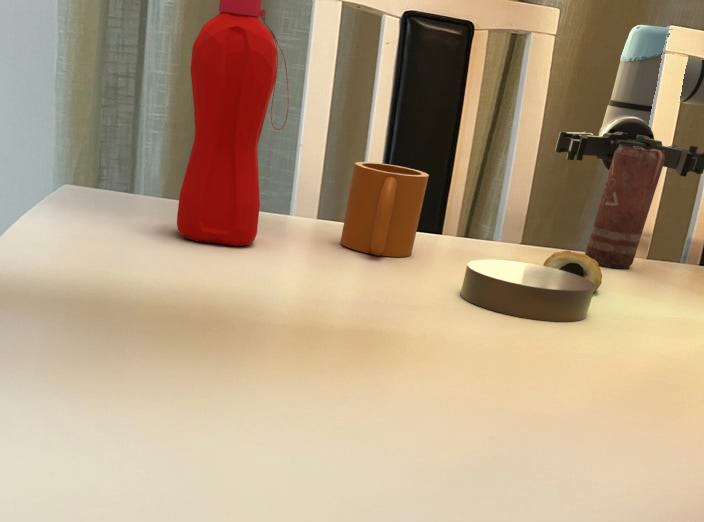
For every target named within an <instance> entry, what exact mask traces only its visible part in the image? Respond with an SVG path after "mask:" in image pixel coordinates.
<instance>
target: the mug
mask: <svg viewBox="0 0 704 522" xmlns="http://www.w3.org/2000/svg"><path fill="white" fill-rule="evenodd" d="M429 177H430V175H429V174H428V173H427V172H424V171H421V170H418V169H414V168H409V167H405V166H400V165H396V164H395V165H394V164H388V163H380V162H371V161H357V162H355V163H354V165H353V170H352V176H351V182H350V188H349V194H348V199H347V204H346V210H345V214H344V215H345V216H344V220H343V225H342V230H341V231H342V232H341V238H340V244H341V245H342V246H344V247H346V248H348V249H351V250H355V251H356V252H361V253H365V254H371V255H374V256H376V257H377V256H378V257H379V256H384V257H394V258H404V257H405V258H406V257H410V256H412V254H413V249H414V244H415V240H416V235H417V230H418V227H419V222H420V217H421V213H422V208H423V203H424V199H425V193H426V190H427V185H428V180H429Z"/></svg>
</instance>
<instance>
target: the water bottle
mask: <svg viewBox="0 0 704 522" xmlns="http://www.w3.org/2000/svg"><path fill="white" fill-rule="evenodd" d="M262 1H263V0H219V4H218V12H219V13H218V14H217V15H215V16H213V17H212V18H210V19H209V20H207V21H206V22H205V23H204V25H203V26H202V27H201V29H200V31H199V32H198V34H197V36H196V37H195V39H194V42H193V45H192V47H191V58H190V79H191V90H192V100H193V112H194V113H193V115H194V117H193V118H194V137H193V139H194V140H193V143H192V147H191V151H190V154H189V159H188V162H187V166H186V169H185V173H184V177H183V181H182V183H181V187H180V192H179V198H178V207H177V215H176V229H177V231H178V233H179V234H181V236H182V237H183V238H184V239H187V240H191V241H194V242H202V243H210V244H216V245H217V244H218V245H225V246H236V247H242V246H248V245H250V244H251V243H252V242H254V241H255V240H256V237H257V235H258V226H259V217H260V216H259V215H260V206H261V200H260V199H261V198H260V197H261V195H260V177H259V154H258V145H259V141H260V137H261V133H262V130H263V126H264V122H265V119H266V116H267V111H268V109H269V104H270V100H271V106H270V122H271V126H272V127H273V128H274V130H277V131H279V130H282V129H283V128H284V127H285V125H286V123H287V119H288V115H289V106H286V107H287V108H286V116H285V121H284V124H283V125H282V126H281V127H280V128H276V126H274V123H273V116H272V115H273V104H274V98H275V97H274V96H275V89H276V84H277V83H276V82H277V78H278V68H279V67H278V66H279V54H278V48H279V50H280V52H281V54H282V57H283V60H284V66H285V67H284V69H285V74H286V75H285V76H286V86H287V90H286V91H289V81H288V80H289V79H288V70H287V64H286V63H287V62H286V58H285V54H284V52H283V50H282V49H281V47H280V44H279V43H278V41H277V36H276V35H275V33H274V31H273V30H272V29H271V28H270V26H269V25H268V23H266V19H267V18H266V13H267V11H266V9H265V8H263V9H261V8H262V3H263V2H262ZM260 18H261V19H260ZM271 97H272V99H271ZM289 101H290V100H289V95H287V103H290V102H289Z"/></svg>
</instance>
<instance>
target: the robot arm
mask: <svg viewBox="0 0 704 522" xmlns="http://www.w3.org/2000/svg"><path fill="white" fill-rule="evenodd" d="M668 28H669V27H664V26H657V25H656V26H655V25H647V24H646V25H645V24H638V25H636V26H634V27H632V29H631V30H630V31H629V34H628V37H627V39H626V41H625V44H624V48H623V50H622V53H621V56H620V61H619V65H618V69H617V73H616V77H615V81H614V86H613V89H612V93H611V96H610V99H609V101H608V105H607V108H606V112H605V115H604V118H603V121H602V125H601V128H599V131H598V135H595V134H594V133H592V132H590V131H587V130H586V131H582V132H580V131H579V132H578V131H575V132H574V131H573V132H571V131H564V130H563V131H559V134H558V138H557V142H556V145H555V149H554V151H555V152H556V153H559V154H561V153H567V154H566V158H565V159H566V160H569V161H575V160H576V161H583V158H584V156H591V157H596V159H597V160H601V163H602V165H603V166H604V167H605V169H607V171H609V169H610V166H611V162H612V159H613V156H614V152H615V151H616V149H617V148H618V147H619V145H620V144H625V145H634V146H641V147H647V148H653V149H658V150H662V151H665V152H664V156H665V162H664V165H663V168H668V169H672V170H675V172H676V173H677V174H678V176H680V177H687V175H688V173H690V172H691V173H694V174H696V175H702V174H704V152H701V151H698V149H699V146H697V145H690V146H689V149H688V148H685V147H681V146H678V145H677V144H670V145H667V146H666V145H663V142H662V140H657V139H655V135H654V132H653V129H652V130H651V128H650V127H649V126H648V125H649V120H650V115H651V109H652V104H653V99H654V95H655V91H656V87H657V81H658V74H659V68H660V63H661V60H662V59H661V55H662V53H663V48H664V45H665V40H666V35H667V37H669V35H670V33H668V34H667V32H668V31H669V30H673V29H674V28H671V29H669V30H667V29H668ZM666 30H667V31H666ZM666 43H667V42H666ZM680 103H681V104H689V105H695V106H702V107H704V60H699V59H695V58H689V59H688V62H687V65H686V69H685V74H684V79H683V85H682V92H681V96H680V102H679V104H680Z"/></svg>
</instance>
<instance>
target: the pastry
mask: <svg viewBox="0 0 704 522" xmlns="http://www.w3.org/2000/svg"><path fill="white" fill-rule="evenodd" d="M542 266H545V267H550V268H554V269H558V270H562V271H566V272H569V273H572V274H576V275H578V276H581V277H583V278H586V279H588V280H589V281H591V282H593V283H594V285H595V289H594V292H596V291H597V290H598V289H599V288H600V286H601V285H602V284H603V283H602V280H603V274H602V271H601V268H600V266H599V265H598V262H596V260H594V259H592V258H590V257H589V256H587V255H585V253H578V252H574V251H570V250H564V251H557V252H553V253H552V254H551V255H550V256H549V257H548V258H546V260H545V261H544V262H543V265H542Z"/></svg>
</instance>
